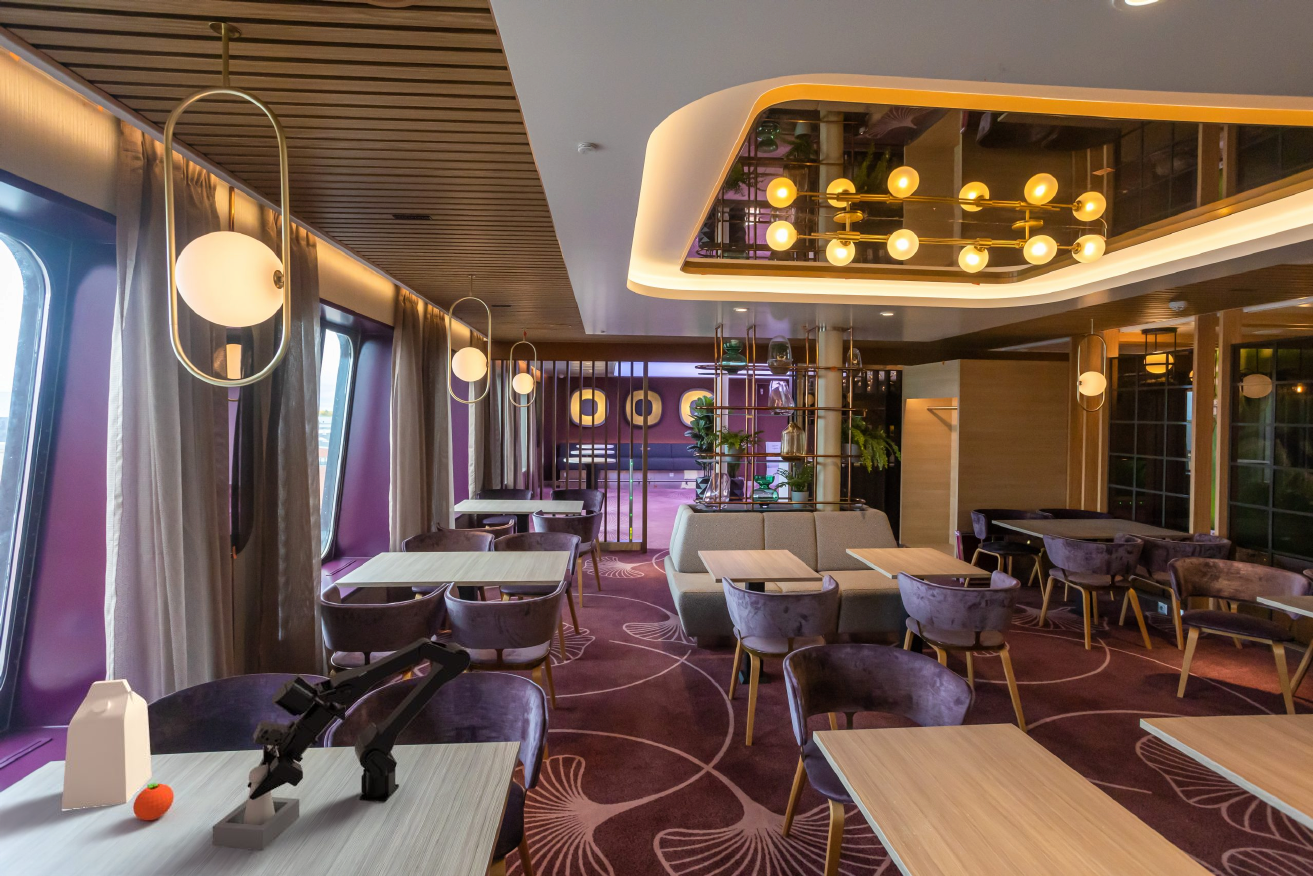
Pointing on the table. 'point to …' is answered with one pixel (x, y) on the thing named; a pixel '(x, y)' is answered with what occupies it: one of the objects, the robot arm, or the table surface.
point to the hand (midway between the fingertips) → (250, 793)
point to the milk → (107, 747)
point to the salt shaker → (258, 800)
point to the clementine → (153, 801)
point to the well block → (255, 826)
